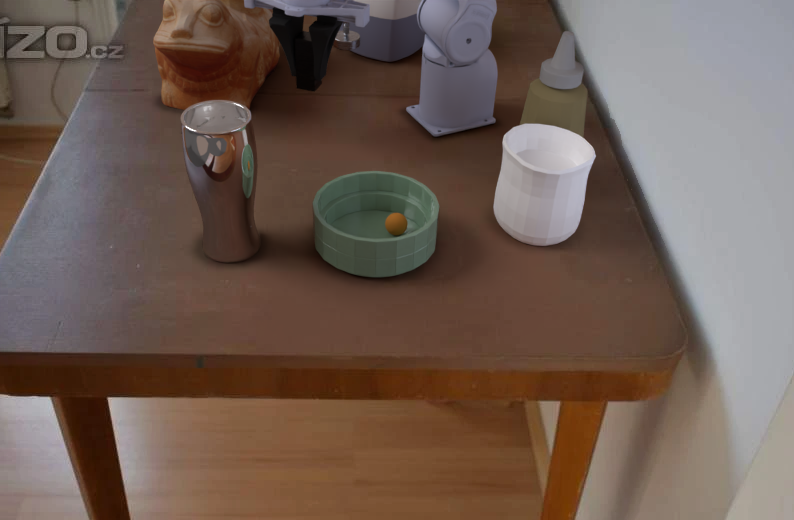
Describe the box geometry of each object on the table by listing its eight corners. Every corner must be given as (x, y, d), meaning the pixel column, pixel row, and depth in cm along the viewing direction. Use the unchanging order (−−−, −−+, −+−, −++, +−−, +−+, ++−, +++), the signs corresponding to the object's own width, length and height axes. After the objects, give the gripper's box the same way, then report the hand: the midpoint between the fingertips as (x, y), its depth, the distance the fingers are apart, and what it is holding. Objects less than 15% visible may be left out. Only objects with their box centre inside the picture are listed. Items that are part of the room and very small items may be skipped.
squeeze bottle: (536, 155, 105) (561, 12, 93) (589, 182, 101) (622, 35, 89) (494, 178, 101) (514, 30, 88) (548, 206, 97) (576, 56, 84)
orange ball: (400, 224, 92) (401, 206, 90) (410, 236, 90) (412, 217, 89) (381, 230, 91) (381, 211, 89) (391, 241, 89) (391, 223, 88)
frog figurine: (136, 122, 107) (114, 4, 97) (204, 40, 126) (191, -66, 116) (242, 135, 106) (230, 16, 96) (293, 49, 125) (288, -57, 115)
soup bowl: (400, 199, 97) (402, 160, 93) (457, 261, 88) (462, 222, 85) (295, 226, 92) (293, 187, 88) (346, 294, 84) (346, 254, 80)
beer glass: (207, 271, 85) (187, 139, 75) (191, 234, 90) (170, 105, 80) (273, 257, 87) (262, 127, 77) (254, 221, 92) (242, 94, 82)
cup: (560, 259, 89) (577, 180, 83) (475, 229, 93) (485, 151, 86) (590, 216, 96) (608, 139, 89) (510, 190, 99) (522, 114, 92)
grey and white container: (311, 47, 126) (309, -30, 118) (372, 16, 135) (373, -57, 128) (395, 76, 120) (398, -3, 112) (452, 42, 129) (459, -33, 122)
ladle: (338, 37, 112) (337, -12, 108) (363, 41, 111) (364, -8, 107) (291, 87, 101) (288, 35, 96) (319, 93, 100) (318, 40, 96)
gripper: (227, -42, 90) (238, 78, 99) (355, -22, 87) (354, 100, 96) (255, -62, 95) (263, 54, 104) (376, -43, 92) (374, 74, 101)
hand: (308, 75), depth 100 cm, fingers closed on ladle, 2 cm apart
